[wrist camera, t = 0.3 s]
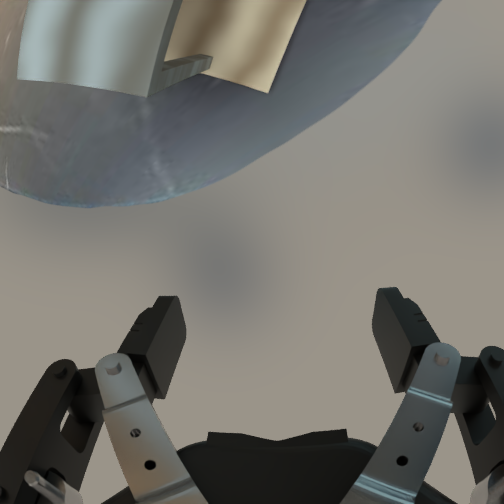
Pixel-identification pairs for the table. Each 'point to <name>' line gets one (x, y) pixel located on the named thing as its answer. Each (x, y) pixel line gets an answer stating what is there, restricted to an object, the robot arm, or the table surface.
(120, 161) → the table surface
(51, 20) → the tunnel deck
